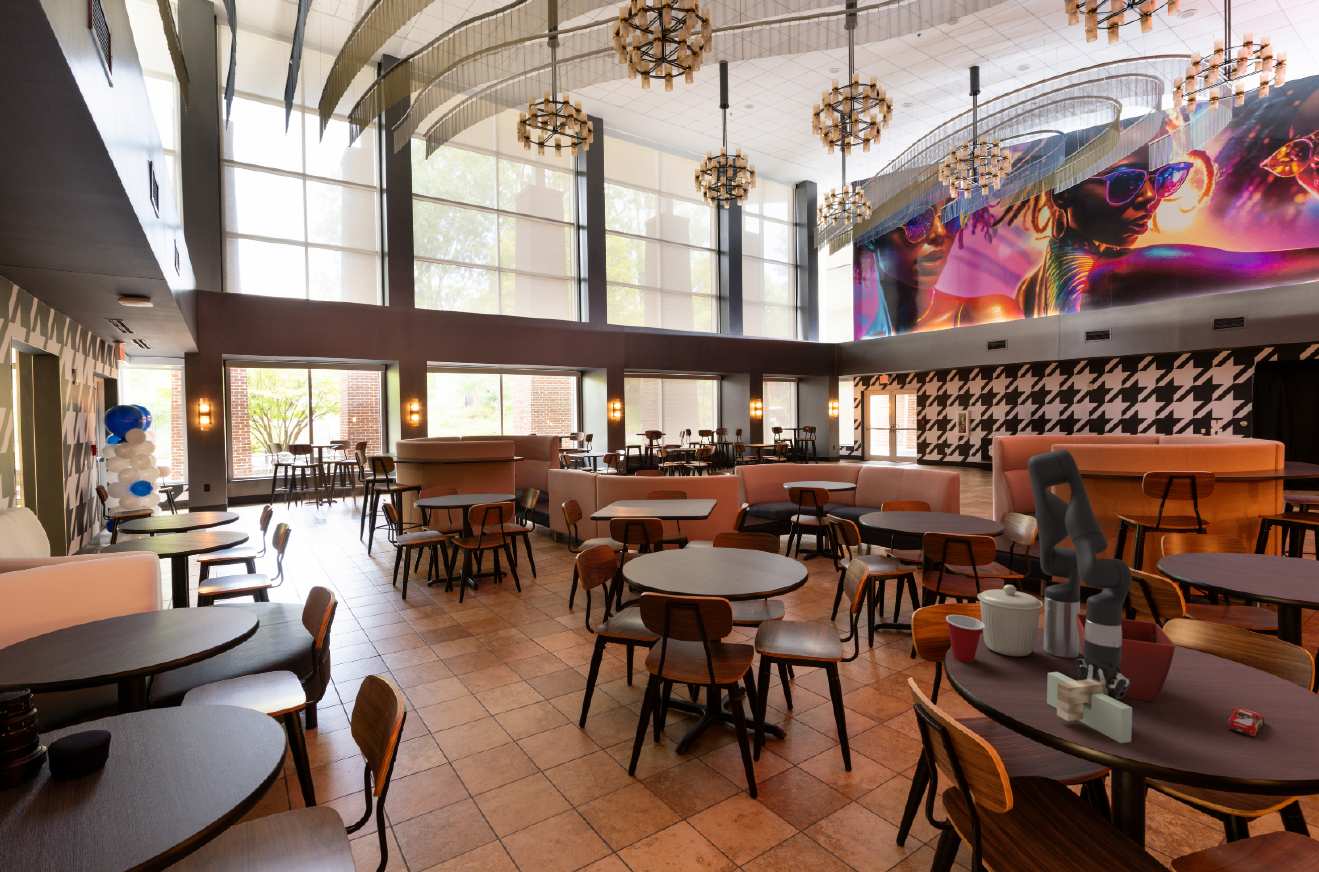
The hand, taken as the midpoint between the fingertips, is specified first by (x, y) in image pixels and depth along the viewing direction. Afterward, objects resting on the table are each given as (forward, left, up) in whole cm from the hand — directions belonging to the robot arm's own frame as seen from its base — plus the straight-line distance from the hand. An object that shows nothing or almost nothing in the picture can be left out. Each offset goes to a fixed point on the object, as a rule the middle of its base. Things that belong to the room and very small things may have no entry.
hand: (1100, 708), depth 151 cm
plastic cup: (-8, -39, -3) cm, 40 cm away
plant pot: (-24, -4, -3) cm, 24 cm away
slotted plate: (+4, -2, -1) cm, 5 cm away
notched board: (+4, -1, -3) cm, 5 cm away
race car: (-25, +21, -3) cm, 33 cm away
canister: (-26, -35, -3) cm, 44 cm away
